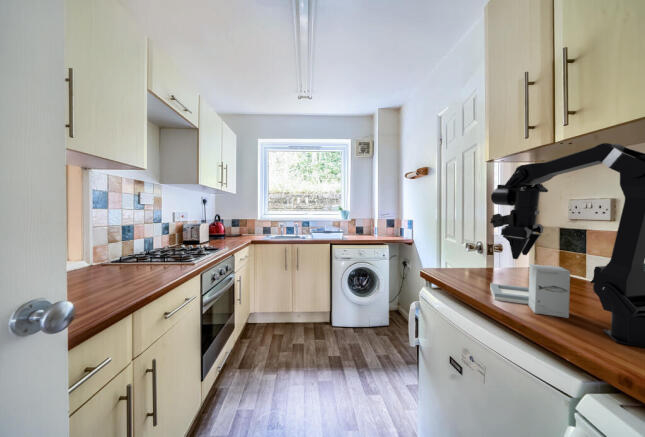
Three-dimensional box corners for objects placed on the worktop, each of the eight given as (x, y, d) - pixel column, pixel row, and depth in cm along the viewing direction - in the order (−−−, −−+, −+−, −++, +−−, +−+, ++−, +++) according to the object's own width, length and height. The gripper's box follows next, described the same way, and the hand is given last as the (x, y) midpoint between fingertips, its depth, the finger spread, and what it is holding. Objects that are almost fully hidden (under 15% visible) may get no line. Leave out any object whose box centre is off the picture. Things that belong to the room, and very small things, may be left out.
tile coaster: (551, 307, 77) (551, 300, 77) (494, 299, 83) (494, 293, 83) (538, 294, 89) (538, 288, 89) (490, 288, 96) (490, 283, 95)
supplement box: (534, 313, 72) (535, 268, 71) (528, 305, 78) (528, 263, 78) (569, 319, 68) (571, 271, 68) (560, 309, 75) (561, 266, 74)
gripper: (505, 204, 91) (500, 248, 93) (484, 205, 80) (479, 255, 82) (546, 207, 83) (540, 254, 84) (529, 208, 71) (522, 264, 73)
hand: (519, 256), depth 81 cm, fingers open, 9 cm apart
